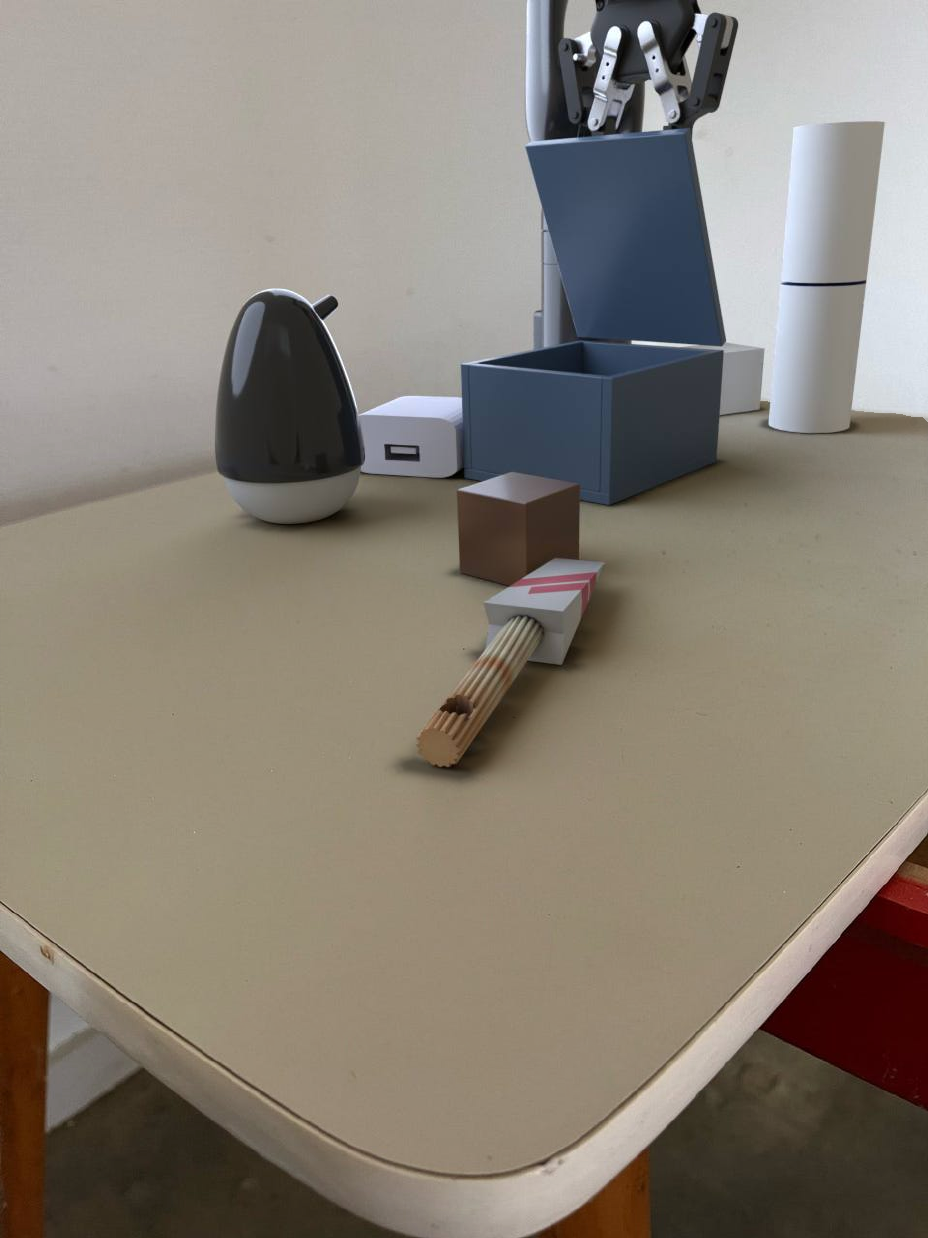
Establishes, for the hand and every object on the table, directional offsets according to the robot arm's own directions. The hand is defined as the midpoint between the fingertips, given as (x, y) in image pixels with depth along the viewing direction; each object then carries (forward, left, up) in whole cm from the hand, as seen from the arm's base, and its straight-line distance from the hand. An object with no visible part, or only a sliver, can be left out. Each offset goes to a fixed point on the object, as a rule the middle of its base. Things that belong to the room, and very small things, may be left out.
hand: (638, 182), depth 75 cm
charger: (-14, -9, -21) cm, 27 cm away
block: (+10, -28, -21) cm, 36 cm away
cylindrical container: (+7, +19, -21) cm, 30 cm away
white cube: (-4, +22, -21) cm, 31 cm away
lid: (0, -2, -5) cm, 5 cm away
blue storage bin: (0, -6, -21) cm, 22 cm away
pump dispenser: (-10, -28, -21) cm, 36 cm away
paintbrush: (+18, -38, -21) cm, 47 cm away
